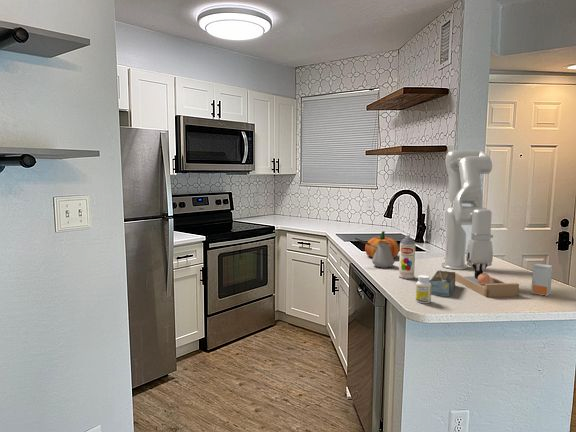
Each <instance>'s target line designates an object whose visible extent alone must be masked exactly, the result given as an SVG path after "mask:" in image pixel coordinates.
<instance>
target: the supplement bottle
mask: <svg viewBox="0 0 576 432" xmlns="http://www.w3.org/2000/svg"><path fill="white" fill-rule="evenodd" d="M417 277H418V278H417V279H418V280H417V281H416V282H415V283H416V284H415V285H416V286H415V301H416V302H417V303H419V304H429V303H431V301H432V294H431V283H430V276H429V275H423V274H420V275H418V276H417Z"/></svg>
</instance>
